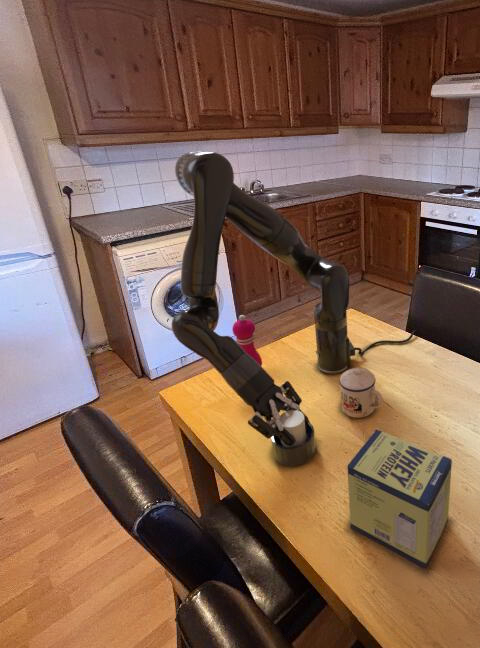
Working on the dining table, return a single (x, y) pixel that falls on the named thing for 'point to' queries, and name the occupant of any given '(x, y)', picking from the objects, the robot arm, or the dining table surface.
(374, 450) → the protein box
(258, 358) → the pepper mill
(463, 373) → the dining table surface
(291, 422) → the plain white cylinder
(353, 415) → the teacup with lid
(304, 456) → the dark round open container
